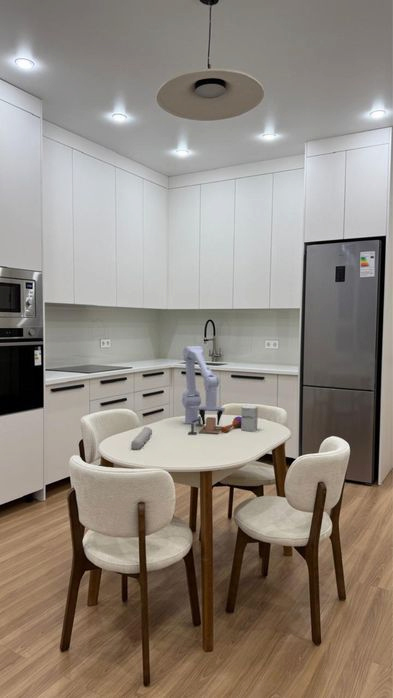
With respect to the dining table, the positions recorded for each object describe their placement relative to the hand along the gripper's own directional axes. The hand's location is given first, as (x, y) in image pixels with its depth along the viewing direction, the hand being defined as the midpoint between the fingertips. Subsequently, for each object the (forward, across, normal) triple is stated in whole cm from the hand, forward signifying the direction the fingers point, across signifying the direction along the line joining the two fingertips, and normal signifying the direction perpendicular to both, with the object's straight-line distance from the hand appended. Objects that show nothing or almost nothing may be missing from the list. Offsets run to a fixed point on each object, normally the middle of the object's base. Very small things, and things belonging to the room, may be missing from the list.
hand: (210, 424), depth 252 cm
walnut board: (+3, 0, 0) cm, 3 cm away
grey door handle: (+3, -8, 0) cm, 9 cm away
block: (+3, 0, 0) cm, 3 cm away
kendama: (+4, +11, +5) cm, 13 cm away
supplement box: (+3, +20, +6) cm, 21 cm away
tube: (+4, -28, -32) cm, 43 cm away
